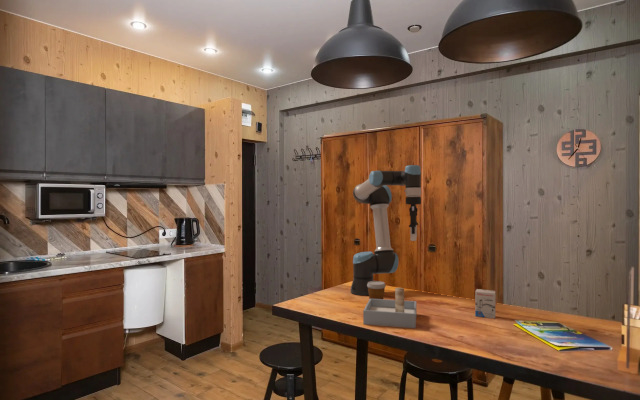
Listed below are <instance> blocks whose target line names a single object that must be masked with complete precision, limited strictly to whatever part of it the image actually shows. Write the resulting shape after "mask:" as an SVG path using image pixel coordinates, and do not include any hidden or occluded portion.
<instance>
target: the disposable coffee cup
mask: <svg viewBox="0 0 640 400" xmlns="http://www.w3.org/2000/svg"><path fill="white" fill-rule="evenodd" d="M367 287H368V292H369V295H368V296H369V298H368V299H384V298H385V289H386V282H384V281H380V280H378V281H377V280H374V281H370V282H368V284H367Z"/></svg>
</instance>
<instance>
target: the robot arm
mask: <svg viewBox="0 0 640 400" xmlns="http://www.w3.org/2000/svg"><path fill="white" fill-rule="evenodd" d="M421 168H422V167H421V165H419V164H409V165H406V166H405V168H404V170H372V171H370V173H369V175H368V179H366V180H365V181H364V182H363V183H359V184H357V185H356V186H355V187H354V188H353V190H352V196H353V199H354V200H356V202H358V203H360V204H363V205H369V207H370V209H371V210H372V215H373V226H374V236H375V246H376V248H375V250H374V251H361V252H358V253H355V254H354V255H353V258H352V266H353V267H352V270H353V273H352V274H353V277H352V278H353V279H352V283H351V286H350V293H351V294H352V295H353V294H354V295H356V296H357V295H358V296H369V292H368V287H367V284H368V282H370V281H375V280H374V275H380V274H381V275H382V274H391V273H392V274H393V273H395V272H396V271H397V269H398V267H399V255H398V253H396V252H395V251H394V248H392V246H391V237H390V227H389V219H388V217H389V216H388V208H389V207H390V204H391V202H392V198H393V194H392V191H391V188H390V187H389V186H400V187H402V186H403V187H405V188H404V192H405V196H406V197H405V205H410V207H409V216H410V218H409V220H410V223H409V225H408V228H410V229H409V234H410V236H409V237H410V241H411V242H412V241H413V242H416V241H417V238H418V230H417V229H418V227H417V226H418V225H419V223H418V222H417V216H418V211H419V210H418V208H417V205H421V204H422V197H421V196H422V185H421V184H422V172H421Z"/></svg>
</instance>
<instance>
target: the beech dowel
mask: <svg viewBox="0 0 640 400" xmlns="http://www.w3.org/2000/svg"><path fill="white" fill-rule="evenodd" d="M394 297H395V299H394V300H395V312H400V313H404V301H405V288H403V287H396V288H394Z"/></svg>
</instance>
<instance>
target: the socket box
mask: <svg viewBox="0 0 640 400" xmlns="http://www.w3.org/2000/svg"><path fill="white" fill-rule="evenodd" d="M368 299H369V298H368ZM417 308H418V307H417V301H416V300H404V313H400V312H395V299H369V300H368V302H367V303H366V305H365V307H364V309H363V310H362V316H363V318H362V319H363V322H362V323H363V325H367V326H383V327H393V328H394V327H396V328H408V329H416V328H417V327H416V325H417V314H418V313H417V312H418V311H417Z"/></svg>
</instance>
